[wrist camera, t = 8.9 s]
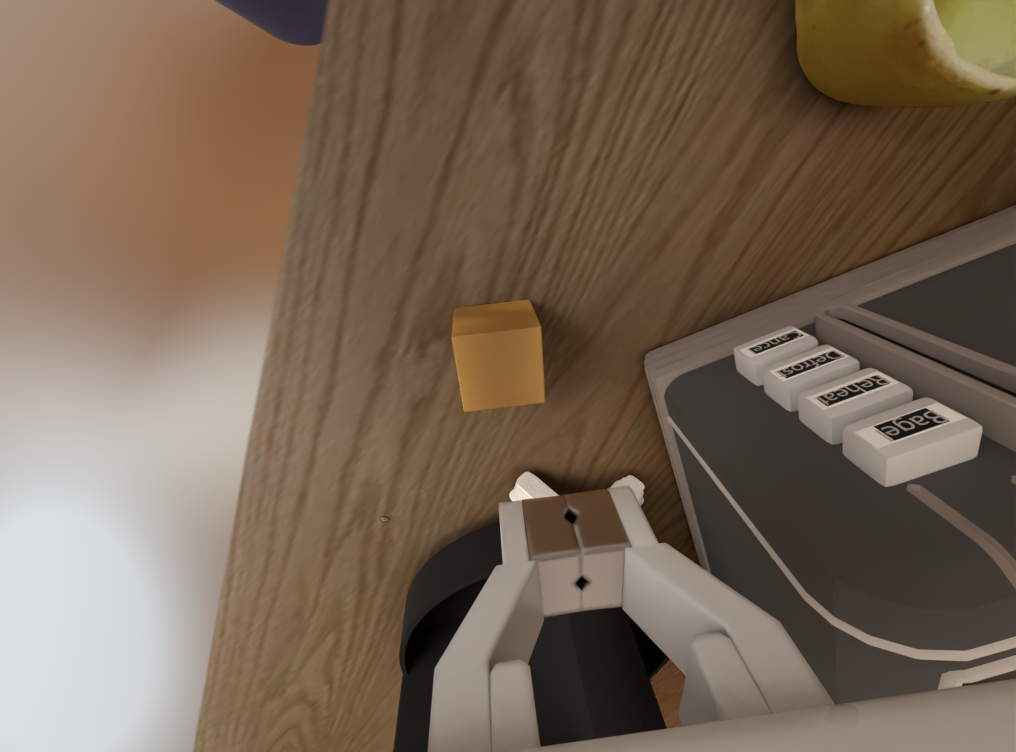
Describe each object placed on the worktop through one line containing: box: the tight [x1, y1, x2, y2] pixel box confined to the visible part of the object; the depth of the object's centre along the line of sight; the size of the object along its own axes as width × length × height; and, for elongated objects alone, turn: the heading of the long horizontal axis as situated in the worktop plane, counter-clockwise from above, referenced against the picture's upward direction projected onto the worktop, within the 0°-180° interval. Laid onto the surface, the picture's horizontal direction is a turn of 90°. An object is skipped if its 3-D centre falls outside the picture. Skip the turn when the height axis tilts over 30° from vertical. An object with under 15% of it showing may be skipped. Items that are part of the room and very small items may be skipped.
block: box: [452, 299, 545, 412], centre depth 23 cm, size 4×4×4 cm
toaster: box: [644, 205, 1016, 704], centre depth 23 cm, size 30×36×17 cm
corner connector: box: [509, 472, 645, 506], centre depth 29 cm, size 8×8×2 cm
